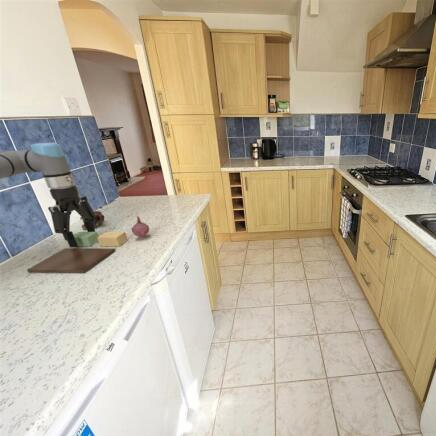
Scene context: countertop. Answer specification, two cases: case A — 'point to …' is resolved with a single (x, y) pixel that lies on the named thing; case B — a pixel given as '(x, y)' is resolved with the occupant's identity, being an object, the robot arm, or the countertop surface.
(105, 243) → the sand pad
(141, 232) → the vegetable
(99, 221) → the pottery mug
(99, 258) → the board
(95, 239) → the sage pad
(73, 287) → the countertop surface
